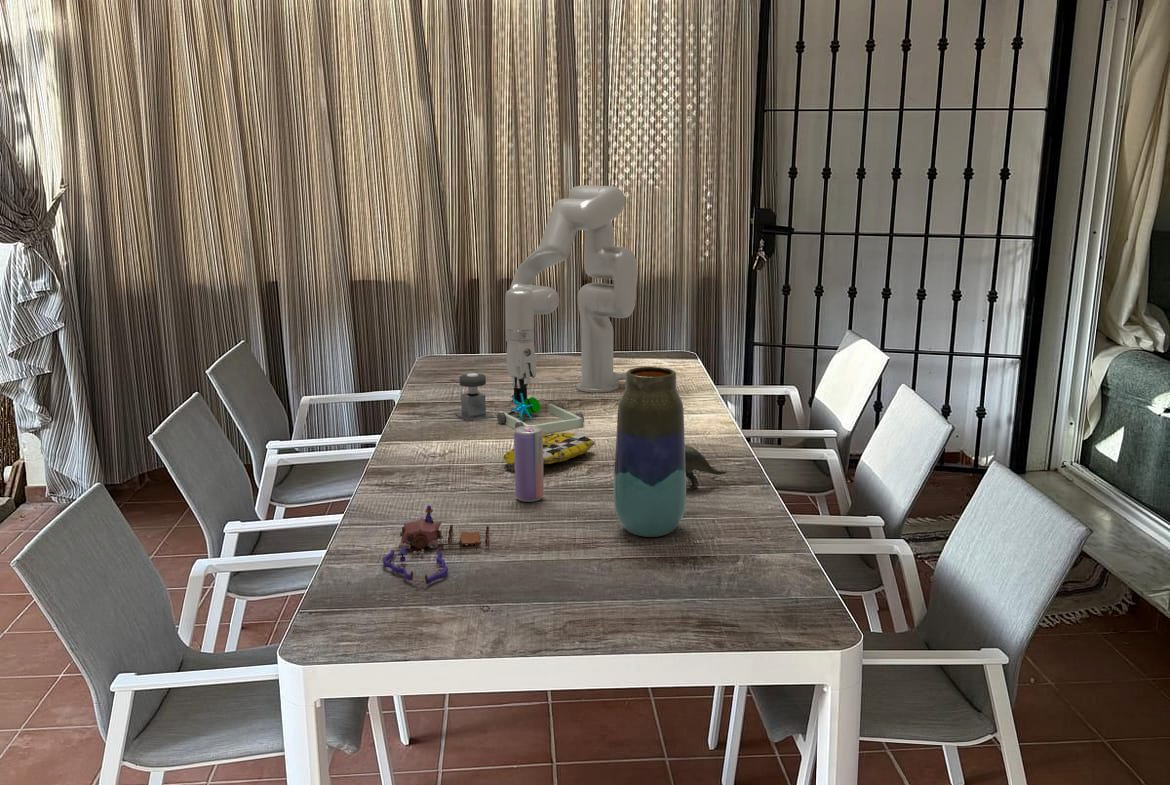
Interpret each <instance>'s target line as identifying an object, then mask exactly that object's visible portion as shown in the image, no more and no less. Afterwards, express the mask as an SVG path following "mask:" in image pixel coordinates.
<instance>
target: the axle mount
mask: <svg viewBox="0 0 1170 785" xmlns="http://www.w3.org/2000/svg"><path fill="white" fill-rule="evenodd" d="M477 392H478V393H476V394H469V392H466V393H465V392H464V393H460V402H461V404H460V405H461V411H458V412H454V415H455V416H456V417H458V418H460V419H462V420H463V421H464V422H470V421H476V420H485V419H491V418H494V415H493V414H492V413H490V412H488V411H487V410H486V409H487V408H486V407H487V406H486V403H487V402H486V394H483V393H482V392H479V391H477Z"/></svg>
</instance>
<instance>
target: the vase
mask: <svg viewBox="0 0 1170 785" xmlns="http://www.w3.org/2000/svg"><path fill="white" fill-rule="evenodd" d="M625 373H626V379H625V389H624V390H623V393H622V396H621V398H620V399H619V402H618V405H617V406H618V408H617V420H616V421H617V422H616V438H615V456H614V474H613V505H614V512H615V514H616V515H615V516H616V517H617V519H618V521H619V523H620V525H622V527H623V528H624V529H625V530H626V531H627V532H628V533H630V534H632V535H635V536H638V537H645V538H646V537H647V538H652V537H653V538H655V537H662V536H665V535H668V534H670V533H672V532H673V531H674V530H675V529H676V528H677V527H678V525H679V524H680V523H681V521H682V519H683V517H684V514H685V510H686V504H687V477H686V463H685V445H686V439H685V438H686V437H685V413H684V412H685V411H684V403H683V400H682V399H681V395H680V394H679V392H678V390H677V372H676V371H675V370H674V369H671V368H668V367H661V366H660V367H659V366H639V367H633V368H631V369H628V370H626V372H625Z"/></svg>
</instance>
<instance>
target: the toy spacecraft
mask: <svg viewBox="0 0 1170 785" xmlns="http://www.w3.org/2000/svg"><path fill="white" fill-rule="evenodd" d="M595 443H596V442H595V441H594V440H593V439H592V438H590V437H587V436H585V435H582V434H574V433H573V432H552V433H551V434H548V433H546V434H543V466H544V465H551V464H553V463H561V462H564V461H568V460H569V459H572V458H575V457H578V458H579V460H582V459H583V457H585V458H588V456H587V454H585V453H586V452H587V451H589V450H590V449H591V448H592V447H593V446H595ZM582 455H583V456H582ZM503 460H504V462H505V463H506V464H507V466H508V472H511V473H512V472H515V459H514V448H513V449H510V450H509V451H507V452H506V453H505V454H504V455H503Z"/></svg>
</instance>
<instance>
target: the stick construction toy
mask: <svg viewBox="0 0 1170 785" xmlns="http://www.w3.org/2000/svg"><path fill="white" fill-rule="evenodd" d="M519 395H521V401H522V402H521V403H519V402H518V401H516V400H515V399H514V394H513V395H511V396H510V397H511V403H513V402H514V404H515V406H516V407H515V408H512V409H510V410H509V411H510V412H508V413H507V414H509V415H511V416H513V415H514V414H518V415H517V419H519V418H520V421H522V422H524V423H526V421H525V420H524V419H523V414H525V415H527V416H528V418H529V419H528V421H532V420H533V417H532V416H533V415H534V414H536V413H539V412H540V410H541V403H540V402H539V400H538V399H537V398H535V397H533V396H532V397H529V398H527V399H526V398H524V399H523V395H522V393H520V394H519Z"/></svg>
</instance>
